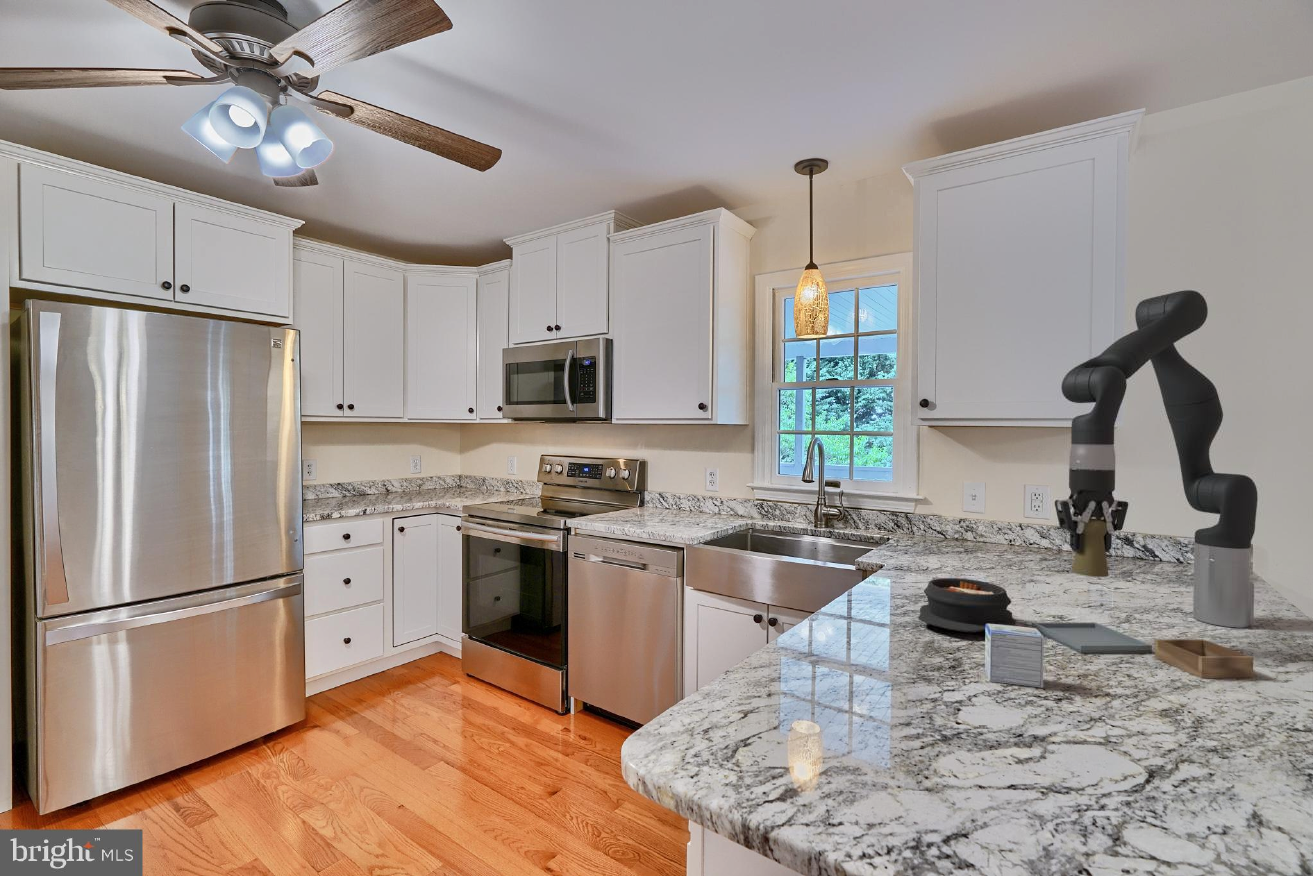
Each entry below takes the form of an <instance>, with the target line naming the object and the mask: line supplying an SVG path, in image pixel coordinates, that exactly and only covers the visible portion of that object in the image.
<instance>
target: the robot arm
mask: <svg viewBox="0 0 1313 876" xmlns="http://www.w3.org/2000/svg"><path fill="white" fill-rule="evenodd" d="M1208 314H1209V311H1208V304H1207V301H1206V299H1205V297H1204V296H1203V295H1202V294H1201V293H1200V292H1198V291H1196V290H1192V289H1190V290H1189V289H1187V290H1185V289H1184V290H1180V291H1179V290H1178V291H1174V292H1170V293H1167V294H1163V295H1157V296H1154V297H1149V298H1145V299H1143V300H1141V301H1139V303H1138V304H1137V306H1136V308H1135V314H1134V317H1135V323H1136V327H1137V329H1136V330H1134V331H1132V332H1129V333H1128V334H1125V336H1122V337H1121V338H1119V339H1117V340H1116V341H1114V342H1113V343H1112V344H1111V345H1109V346H1108V347H1107V348H1106V349H1105V350H1103V351H1102V352H1101V354H1099V355H1097V356H1095V357H1092V358H1090V359H1087V360H1086V361H1085V362H1082V363H1079V364H1078V365H1077V366H1075V367H1073V368H1072V369H1070V370H1069V371H1068V372H1067V373H1066V375H1065V376H1064V378H1063V379H1062V381H1061V387H1060V388H1061V392H1062V394H1063V396H1064V398H1065V399H1066V400H1068V401H1069V402H1071V403H1074V404H1075V403H1076V404H1092V403H1095V404H1094V406H1093V408H1092V410H1091V411H1090V412H1088V413H1084V414H1080V415H1077V416H1075V417H1074V418H1073V419H1072V420H1071V429H1070V430H1071V432H1070V433H1071V435H1070V436H1071V437H1070V439H1071V441H1070V442H1071V443H1070V450H1069V456H1068V457H1069V460H1068V462H1069V463H1068V465H1069V466H1068V467H1069V468H1068V470H1069V471H1068V488H1069V490H1070V495H1069V496H1068V498H1067V499H1056V500H1055V501H1054V507H1055V511H1056V517H1057V521H1058V524H1059V525H1058V526H1059V528H1060V529H1063V530H1065V531H1068V532H1069V547H1070V549H1071V551H1072V552H1074V553H1075V552H1083V534H1081V533H1082V532H1083V529H1084V526H1085V524H1086V523H1088V521H1089V518H1094V519H1099V520H1102V521H1104V522H1105V523H1106V525H1107V532H1106V534H1105V535H1104V536H1103V537H1104V544H1105V552H1106V553H1109V552H1111V551H1110V550H1111V549H1112V547H1113V546H1112V545H1113V544H1112V543H1113V541H1112V539H1113V534H1114V532H1117V531H1122V530H1123V527H1124V523H1125V519H1126V516H1127V513H1128V509H1129V508H1128V507H1129V502H1128V501H1125V500H1119V499H1115V497H1114V496H1113V492H1114V491H1116V488H1115V487H1116V453H1115V452H1116V450H1115V426H1116V425H1115V423H1116V421H1117V419H1118V415H1119V411H1120V409H1121V406H1122V403H1123V400H1124V398H1125V396H1126V395H1125V394H1126V391H1127V388H1128V387H1127V380H1129V379H1130V378H1131V377H1132V376H1133V375H1135V373H1137V372H1138V371H1139V370H1140V369H1141V368H1142V367H1143V366H1144V365H1145V364H1146V363H1148V362H1149V361H1150V362H1151V365H1152V368H1153V370H1154V373H1155V376H1156V377H1155V378H1156V380H1157V383H1158V387H1159V391H1160V394H1161V397H1162V403H1163V406H1164V409H1165V410H1164V411H1165V412H1166V416H1167V420H1168V422H1169V425H1170V428H1171V430H1172V435H1173V440H1174V443H1175V447H1176V451H1177V455H1178V460H1179V467H1180V472H1181V480H1182V485H1183V492H1184V495H1185V498H1186V501H1187V502H1188V505H1189V506H1190V507H1191V508H1193V509H1194V510H1196V511H1197V512H1201V513H1205V514H1206V513H1208V514H1214V515H1215V514H1216V515H1219V519H1218V522H1217V523H1216V524H1214V525H1212V526H1211V527H1206V528H1199V529H1197V530H1195V532H1194V545H1193V547H1194V549H1193V554H1194V555H1193V556H1194V557H1193V594H1192V595H1193V596H1192V597H1193V599H1192V600H1193V601H1192V608H1193V609H1192V617H1193V619H1195V620H1197V621H1200V622H1203V623H1206V624H1211V625H1215V626H1219V627H1220V626H1221V627H1230V628H1248V627H1250V626H1254V617H1255V606H1254V605H1255V583H1254V581H1252V580H1251V547H1252V546H1251V545H1252V541H1253V537H1254V535H1255V531H1256V521H1257V520H1256V519H1257V508H1258V500H1259V499H1258V498H1259V497H1258V490H1257V488H1258V487H1257V486H1256V484H1255V481H1254V480H1253V479H1252V478H1251V477H1250V476H1247V475H1244V474H1237V473H1227V472H1226V473H1225V472H1214V469H1213V467H1212V463H1211V460H1210V450H1211V449H1210V448H1211V445H1212V443H1213V441H1214V439H1215V437H1216V436H1217V433H1218V431H1219V429H1220V427H1221V425H1222V422H1223V418H1224V412H1223V407H1222V403H1221V401H1220V396H1219V393H1218V391H1217V388H1216V385H1214V383H1213V382H1212V381H1211V380H1210V379H1209V378H1208V377H1207V376H1205V375H1204V374H1203V373H1202V372H1201V371H1199V370H1198V369H1197V368H1195V367H1194V366H1193V365H1192V364H1190V363H1189V362H1188V361H1187V360H1185V358H1184V357H1182V355H1181V354H1180V352H1179V351H1178V349H1177V348H1176V346H1175V343H1176V342H1178V341H1180V340H1182V339H1183V338H1185V337H1186V336H1188V335H1191V334H1192V333H1194V332H1195V331H1198V329H1200V328H1201V327H1202V326H1203V325H1204V324H1205V323H1206V320H1207V318H1208ZM1071 510H1072V512H1071ZM1077 522H1078V523H1077ZM1076 525H1077V526H1076Z"/></svg>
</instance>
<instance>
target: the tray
mask: <svg viewBox="0 0 1313 876" xmlns="http://www.w3.org/2000/svg"><path fill="white" fill-rule="evenodd" d="M1031 628H1036V629H1037V630H1038V631H1039V632H1040V633H1041V634H1042V636H1043V637H1046V638H1048V639H1050V640H1052V641H1054V642H1057V643H1058V644H1061V645H1062V646H1065V647H1066V648H1068V649H1070V650H1072V651H1075V652H1077V653H1079V654H1089V655H1090V654H1091V655H1092V654H1096V655H1097V654H1153V645H1152V644H1149V643H1147V642H1145V641H1143V640H1140V639H1137V638H1136V637H1132V636H1130V635H1127V634H1124V633H1122V632H1120V631H1118V630H1115V629H1113V628H1110V627H1108V626H1106V625H1103V624H1100V623H1098V622H1093V621H1092V622H1091V621H1090V622H1089V621H1088V622H1086V621H1085V622H1084V621H1083V622H1081V621H1080V622H1079V621H1078V622H1074V621H1073V622H1072V621H1071V622H1070V621H1069V622H1064V621H1063V622H1062V621H1061V622H1059V621H1058V622H1055V621H1054V622H1051V621H1049V622H1048V621H1047V622H1046V621H1043V622H1042V621H1041V622H1039V621H1038V622H1037V621H1036V622H1031Z"/></svg>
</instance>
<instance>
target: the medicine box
mask: <svg viewBox="0 0 1313 876" xmlns="http://www.w3.org/2000/svg"><path fill="white" fill-rule="evenodd" d="M984 639H985V640H984V644H985V645H984V671H985V674H986V677H987V679H988V681H989V682H991V683H992V682H994V683H1000V684H1002V683H1004V684H1008V685H1017V686H1018V685H1019V686H1027V687H1034V688H1044V660H1045V659H1044V658H1045V657H1044V656H1045V653H1044V652H1045V649H1044V647H1045V642H1044V641H1045V636H1044V635H1042V634H1041V633H1040V632H1039V631H1038V630H1037V629H1036V628H1032V627H1029V626H1027V627H1026V626H1018V625H1017V626H1015V625H1014V626H1009V625H998V624H986V629H985V638H984Z"/></svg>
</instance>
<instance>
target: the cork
mask: <svg viewBox="0 0 1313 876" xmlns="http://www.w3.org/2000/svg"><path fill="white" fill-rule="evenodd" d="M1077 523H1078V522H1077ZM1076 526H1077V525H1076ZM1106 532H1107V525H1106V523H1105V522H1104V521H1102V520H1099V519H1094V518H1089V521H1088V523H1086V524H1085V526H1084V529H1083V532H1082V533H1081V534H1083V552H1075V551H1074V557H1073V563H1072V564H1073V565H1072V568H1071V572H1072V573H1074V574H1077V575H1082V576H1087V577H1098V578H1101V577H1102V578H1106V577H1109V575H1110V574H1109V567H1108V560H1107V552H1105V544H1104V537H1103V536H1104V535H1105V534H1106Z"/></svg>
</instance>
